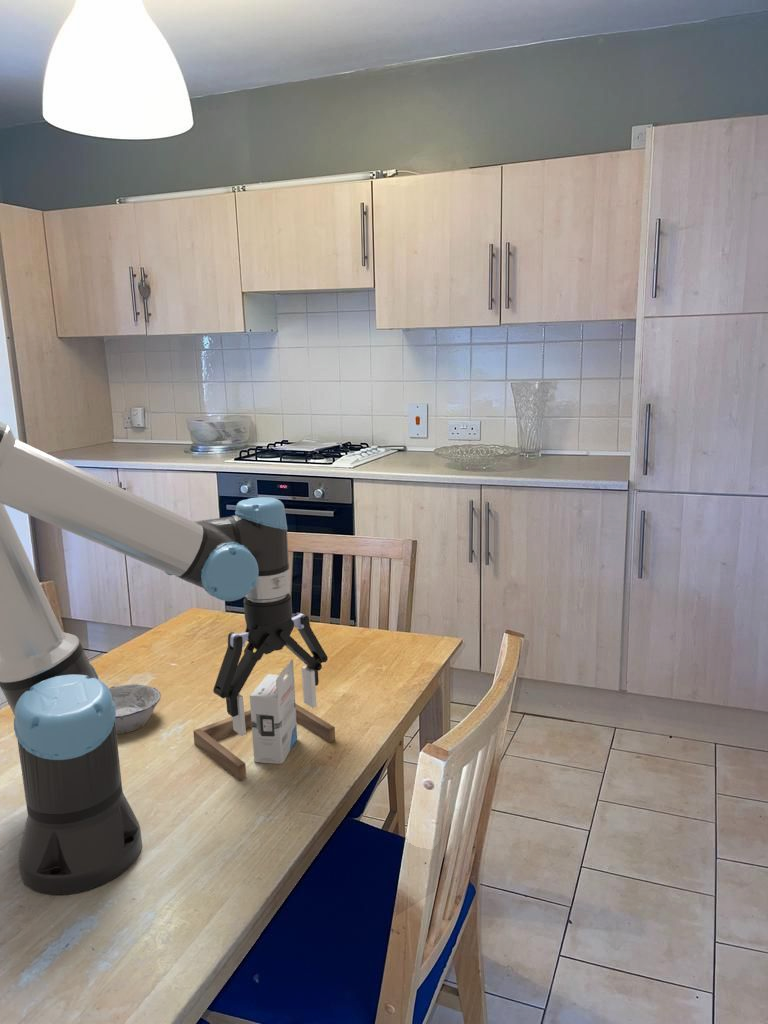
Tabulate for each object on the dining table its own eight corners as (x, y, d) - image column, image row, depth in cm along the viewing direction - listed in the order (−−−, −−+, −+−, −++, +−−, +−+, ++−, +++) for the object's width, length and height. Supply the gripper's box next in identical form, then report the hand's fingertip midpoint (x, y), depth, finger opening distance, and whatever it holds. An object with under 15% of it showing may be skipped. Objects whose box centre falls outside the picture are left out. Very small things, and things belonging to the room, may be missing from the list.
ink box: (270, 736, 134) (266, 656, 131) (298, 739, 133) (294, 658, 130) (253, 762, 126) (247, 677, 122) (282, 765, 125) (277, 679, 121)
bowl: (70, 731, 138) (67, 705, 137) (126, 701, 149) (123, 678, 148) (123, 747, 132) (120, 721, 130) (176, 715, 142) (174, 691, 141)
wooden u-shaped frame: (239, 780, 120) (238, 766, 120) (194, 744, 132) (193, 730, 131) (335, 740, 132) (334, 726, 131) (286, 709, 143) (285, 697, 143)
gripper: (207, 621, 113) (219, 754, 117) (344, 582, 128) (350, 701, 133) (183, 608, 118) (196, 736, 123) (317, 573, 134) (324, 687, 139)
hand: (276, 718), depth 128 cm, fingers open, 13 cm apart
